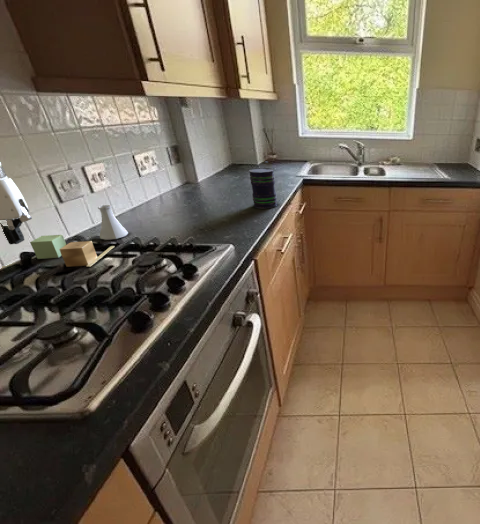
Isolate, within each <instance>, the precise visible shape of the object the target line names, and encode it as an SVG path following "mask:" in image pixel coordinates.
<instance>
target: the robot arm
mask: <svg viewBox="0 0 480 524" xmlns="http://www.w3.org/2000/svg"><path fill="white" fill-rule="evenodd" d="M32 219H33V218H32V216H31V215H30V208H29V205H28V203H27V201H26V199H25V197H24V196H23V193H22V192H21V190H20V189H19V187H18V186H17V184H16V183H15V182H14V181H13V179H12V177H8V175H7V173H6V171H5V169H4V166H3V165H2V162H1V161H0V220H6V221H7V225H8V226H3V225H2V224H1V223H0V224H1V227H2V229H3V231H2V233H3V232H4V233H3V235H4V234H5V235H4V237H5V236H6V237H5V239H6V238H7V239H6V240H7V242H8V244H9V245H19V244H20V243H23V242H25V236H24V234H23V231H22V229H21V227H22V224H23V223H25V222H28V221H31V220H32Z"/></svg>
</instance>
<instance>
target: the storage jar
mask: <svg viewBox="0 0 480 524" xmlns="http://www.w3.org/2000/svg"><path fill="white" fill-rule="evenodd" d="M268 163H269V161H264V164H268ZM274 172H275V171H274V168H268V167H267V168H265V167H260V168H258V167H257V168H252V169H249V180H250V185H251V188H252V194H251V195H252V201H253V208H255V209H263V210H264V209H273V208H275V207H277V206H278V197H277V192H276V186H275V185H276V177H275V173H274Z"/></svg>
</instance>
